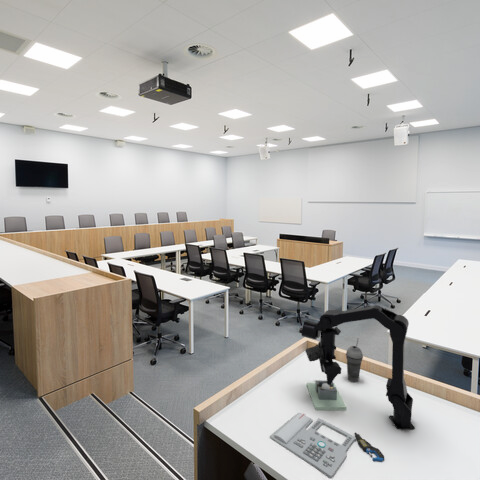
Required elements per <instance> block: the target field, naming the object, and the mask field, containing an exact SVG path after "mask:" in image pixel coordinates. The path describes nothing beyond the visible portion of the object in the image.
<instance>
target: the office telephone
mask: <svg viewBox="0 0 480 480" xmlns="http://www.w3.org/2000/svg"><path fill="white" fill-rule="evenodd" d="M313 421H314V420H313V418H312V417H309V416H308V415H306V414H305V413H302V412H297V413H296V414H295V415H294V416H292V417H291V418H290V419H289V420H287V421H286V422H284V423H283V424H282V425H281V426H280V427H278V429H276V430H274V432H273V433H271V434H270V435H269V438H270V439H271V440H272V441H274V442H275V443H277V444H278V445H280V446H282V447H283V448H285V449H286V450H287V451H289V452H290V453H292V454H294V455H295V456H297V457H298V458H299V459H301V460H303V461H304V462H306V463H307V464H309V465H310V466H312V467H314V468H315V469H317V470H318V471H319V472H321V473H322V474H324V475H325V476H326V477H328V478H329V479H333V477H334V476H335V475H336V473H337V472H338V470H339V469H340V467H341V466H342V464H344V462H345V461H346V458H347V455H348V453H347V452H348V451H349V449H350V447H351V446H352V445H353V444H354V443H355V442H356V441H357V439H356V437H355V435H353V434H351V433H349V432H347V431H345V430H343V429H342V428H340V427H338V426H336V425H333V424H332V423H331V422H327V421H325V420H324V419H322V418H320V417H318V418H317V419H316V420H315V422H314V423H313ZM311 424H312V425H311ZM322 426H325V427H326V428H329V429H331V430H333V431H335V432H336V433H338V434H340V435H342V436H344V437H346V438H345V440H344V441H343V442H342V443H338V442H337V441H335V440H333V439H330V438H329V437H327V436H325V435H324V434H321V433H319V432H318V430H319V429H320V428H321V427H322ZM308 427H309V428H308Z"/></svg>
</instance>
